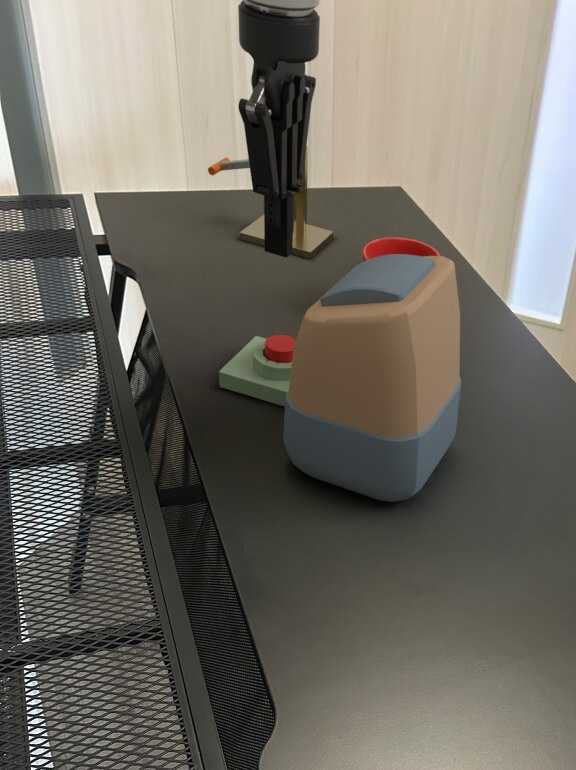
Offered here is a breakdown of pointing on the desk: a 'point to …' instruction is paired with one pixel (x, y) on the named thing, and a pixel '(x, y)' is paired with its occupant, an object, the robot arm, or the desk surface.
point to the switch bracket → (295, 225)
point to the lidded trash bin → (377, 377)
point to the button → (279, 348)
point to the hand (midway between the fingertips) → (278, 251)
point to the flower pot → (397, 248)
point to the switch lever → (228, 165)
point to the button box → (256, 374)
